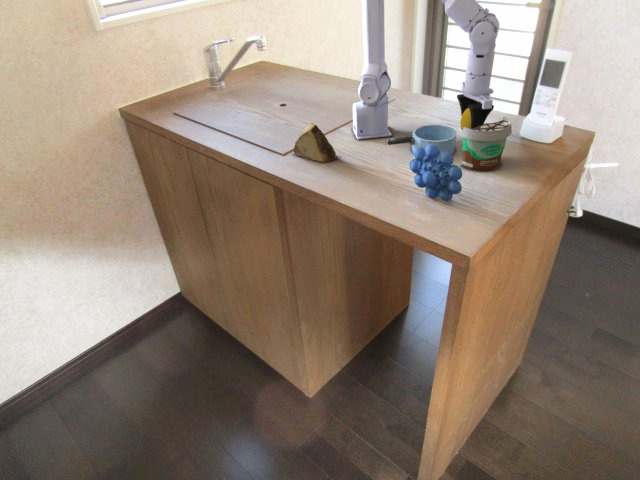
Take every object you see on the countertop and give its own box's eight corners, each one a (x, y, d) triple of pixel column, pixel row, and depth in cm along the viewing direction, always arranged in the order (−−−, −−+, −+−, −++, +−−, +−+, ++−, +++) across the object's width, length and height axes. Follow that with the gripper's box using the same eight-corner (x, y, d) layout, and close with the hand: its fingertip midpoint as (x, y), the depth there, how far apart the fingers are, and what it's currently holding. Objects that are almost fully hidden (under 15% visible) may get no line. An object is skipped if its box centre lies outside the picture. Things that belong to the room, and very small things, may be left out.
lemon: (482, 140, 112) (487, 109, 107) (459, 140, 113) (463, 109, 108) (480, 132, 116) (485, 101, 111) (458, 131, 117) (462, 101, 112)
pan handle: (413, 141, 112) (414, 134, 111) (415, 144, 111) (416, 137, 110) (386, 144, 112) (386, 137, 111) (387, 147, 110) (387, 140, 109)
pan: (418, 160, 109) (420, 143, 106) (407, 143, 117) (408, 127, 114) (460, 156, 109) (462, 138, 106) (446, 139, 118) (447, 122, 115)
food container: (473, 178, 100) (480, 136, 94) (456, 168, 104) (461, 127, 98) (517, 165, 103) (526, 124, 97) (498, 155, 108) (505, 115, 102)
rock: (281, 148, 114) (298, 156, 106) (294, 116, 113) (313, 122, 105) (314, 163, 121) (332, 172, 113) (327, 133, 119) (347, 140, 111)
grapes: (398, 199, 95) (400, 147, 88) (413, 186, 99) (417, 135, 92) (449, 215, 89) (456, 160, 81) (464, 200, 93) (471, 146, 86)
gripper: (509, 79, 99) (499, 136, 107) (482, 62, 111) (475, 115, 119) (478, 82, 99) (470, 140, 107) (455, 65, 111) (449, 118, 119)
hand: (471, 127), depth 113 cm, fingers closed on lemon, 5 cm apart
